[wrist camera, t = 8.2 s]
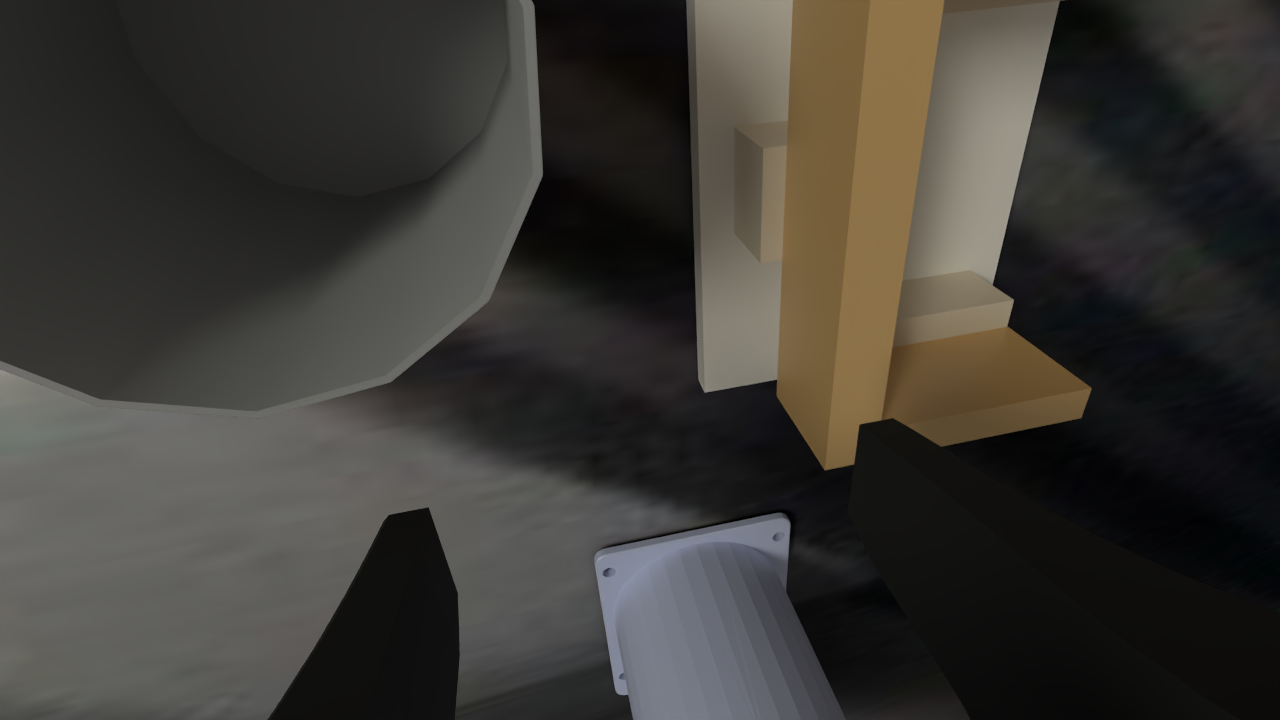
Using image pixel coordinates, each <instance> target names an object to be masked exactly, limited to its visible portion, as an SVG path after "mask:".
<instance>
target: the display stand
mask: <svg viewBox="0 0 1280 720" xmlns="http://www.w3.org/2000/svg"><path fill="white" fill-rule="evenodd" d="M1060 1H1063V0H944V6H943V13H942V19H941V26H940V33H939V39H938V46H937V53H936V59H935V66H934V73H933V79H932V86H931V93H930V99H929V106H928V113H927V119H926V126H925V133H924V139H923V146H922V153H921V159H920V166H919V173H918V179H917V186H916V193H915V199H914V206H913V213H912V220H911V226H910V233H909V240H908V246H907V253H906V260H905V266H904V273H903V280H902V286H901V293H900V300H899V306H898V313H897V320H896V326H895V333H894V340H893V346H892V347H898V346H903V345H909V344H914V343H920V342H925V341H931V340H936V339H942V338H947V337H953V336H958V335H964V334H969V333H975V332H980V331H986V330H991V329H997V328H1002V327H1007V325H1008V321H1009V317H1010V313H1011V310H1012V306H1013V302H1014V300H1013V299H1012V298H1010V297H1009V296H1007V295H1006V294H1004V293H1003V292H1001V291H1000V290H998V289H997V288H995V287H994V286H992V285H993V281H994V277H995V273H996V269H997V264H998V260H999V256H1000V252H1001V247H1002V243H1003V239H1004V235H1005V230H1006V226H1007V222H1008V218H1009V213H1010V209H1011V205H1012V201H1013V197H1014V192H1015V188H1016V184H1017V180H1018V175H1019V171H1020V167H1021V163H1022V158H1023V154H1024V150H1025V146H1026V142H1027V137H1028V133H1029V129H1030V125H1031V120H1032V116H1033V112H1034V108H1035V103H1036V99H1037V95H1038V91H1039V86H1040V82H1041V78H1042V74H1043V70H1044V65H1045V61H1046V57H1047V53H1048V48H1049V44H1050V40H1051V36H1052V31H1053V27H1054V23H1055V19H1056V15H1057V10H1058V6H1059V2H1060ZM686 6H687V37H688V69H689V101H690V132H691V164H692V196H693V227H694V259H695V291H696V322H697V354H698V380H699V382H700V384H701V386H702V388H703V390H704V392H711V391H716V390H722V389H728V388H733V387H739V386H744V385H750V384H755V383H761V382H766V381H772V380H777V373H778V349H779V325H780V300H781V276H782V252H783V227H784V203H785V179H786V154H787V130H788V106H789V81H790V57H791V33H792V8H793V0H686Z"/></svg>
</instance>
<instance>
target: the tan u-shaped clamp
mask: <svg viewBox="0 0 1280 720" xmlns="http://www.w3.org/2000/svg"><path fill="white" fill-rule="evenodd" d="M943 6H944V0H793V8H792V33H791V57H790V81H789V106H788V130H787V154H786V179H785V203H784V227H783V252H782V276H781V300H780V325H779V349H778V373H777V397H778V399H779V400H780V402H781V404H782V405H783V407H784V408H785V410H786V411H787V413H788V414H789V416H790V417H791V419H792V421H793V422H794V424H795V425H796V427H797V428H798V430H799V431H800V433H801V434H802V436H803V437H804V439H805V441H806V442H807V444H808V445H809V447H810V448H811V450H812V451H813V453H814V454H815V456H816V457H817V459H818V461H819V462H820V464H821V465H822V467H823V468H824V470H829V469H834V468H839V467H844V466H849V465H854V462H855V454H856V447H857V439H858V432H859V424H864V423H870V422H875V421H880V420H885V419H890V418H894V419H895V420H897V421H899V422H901V423H903V424H904V425H906V426H908V427H909V428H911V429H913V430H914V431H916V432H918V433H919V434H921V435H923V436H924V437H926V438H928V439H929V440H931V441H933V442H934V443H936V444H937V445H939V446H941V447H942V446H947V445H952V444H957V443H962V442H966V441H971V440H976V439H981V438H986V437H991V436H996V435H1001V434H1006V433H1011V432H1016V431H1020V430H1025V429H1030V428H1035V427H1040V426H1045V425H1050V424H1055V423H1060V422H1065V421H1070V420H1074V419H1079V418H1081V417H1082V414H1083V412H1084V409H1085V406H1086V403H1087V400H1088V398H1089V395H1090V392H1091V389H1092V388H1091V387H1089V386H1088V385H1087V384H1085V383H1084V382H1083V381H1081V380H1080V379H1079V378H1077V377H1076V376H1074V375H1073V374H1072V373H1070V372H1069V371H1068V370H1066V369H1065V368H1064V367H1062V366H1061V365H1059V364H1058V363H1057V362H1055V361H1054V360H1053V359H1051V358H1050V357H1049V356H1047V355H1046V354H1044V353H1043V352H1042V351H1040V350H1039V349H1038V348H1036V347H1035V346H1034V345H1032V344H1031V343H1029V342H1028V341H1027V340H1025V339H1024V338H1023V337H1021V336H1020V335H1019V334H1017V333H1016V332H1014V331H1013V330H1012V329H1010V328H1009V327H1002V328H997V329H991V330H986V331H980V332H975V333H969V334H964V335H958V336H953V337H947V338H942V339H936V340H931V341H925V342H920V343H914V344H909V345H903V346H898V347H892V346H893V340H894V333H895V326H896V320H897V313H898V306H899V300H900V293H901V286H902V280H903V273H904V266H905V260H906V253H907V246H908V240H909V233H910V226H911V220H912V213H913V206H914V199H915V193H916V186H917V179H918V173H919V166H920V159H921V153H922V146H923V139H924V133H925V126H926V119H927V113H928V106H929V99H930V93H931V86H932V79H933V73H934V66H935V59H936V53H937V46H938V39H939V33H940V26H941V19H942V13H943Z"/></svg>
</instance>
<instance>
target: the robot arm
mask: <svg viewBox="0 0 1280 720" xmlns="http://www.w3.org/2000/svg"><path fill="white" fill-rule="evenodd" d="M848 512H849V514H850V517H851V519H852V521H853V523H854V525H855V527H856V530H857V532H858V534H859V536H860V538H861V540H862V542H863V544H864V546H865V548H866V550H867V552H868V554H869V557H870V559H871V561H872V563H873V564H874V566H875V568H876V569H877V571H878V572H879V574H880V576H881V577H882V579H883V580H884V582H885V584H886V585H887V587H888V588H889V590H890V591H891V593H892V594H893V596H894V598H895V599H896V601H897V602H898V604H899V605H900V607H901V609H902V610H903V612H904V613H905V615H906V616H907V618H908V619H909V621H910V622H911V624H912V625H913V627H914V629H915V630H916V632H917V633H918V635H919V636H920V638H921V639H922V641H923V642H924V644H925V645H926V647H927V649H928V650H929V652H930V653H931V655H932V656H933V658H934V659H935V661H936V662H937V664H938V665H939V667H940V669H941V670H942V672H943V673H944V675H945V676H946V678H947V679H948V681H949V683H950V684H951V686H952V688H953V689H954V691H955V693H956V694H957V696H958V698H959V699H960V701H961V703H962V704H963V706H964V708H965V710H966V711H967V713H968V715H969V717H970V719H971V720H1280V613H1278V612H1276V611H1273V610H1270V609H1267V608H1265V607H1262V606H1259V605H1257V604H1254V603H1252V602H1249V601H1246V600H1244V599H1241V598H1239V597H1236V596H1234V595H1231V594H1229V593H1226V592H1224V591H1221V590H1219V589H1216V588H1214V587H1211V586H1208V585H1206V584H1203V583H1201V582H1198V581H1196V580H1194V579H1191V578H1189V577H1187V576H1184V575H1182V574H1180V573H1177V572H1175V571H1172V570H1170V569H1168V568H1166V567H1163V566H1161V565H1159V564H1157V563H1155V562H1152V561H1150V560H1148V559H1146V558H1144V557H1142V556H1139V555H1137V554H1135V553H1133V552H1131V551H1129V550H1126V549H1124V548H1122V547H1120V546H1118V545H1116V544H1113V543H1111V542H1109V541H1107V540H1105V539H1103V538H1101V537H1099V536H1097V535H1095V534H1093V533H1091V532H1089V531H1087V530H1085V529H1083V528H1082V527H1080V526H1078V525H1076V524H1074V523H1072V522H1070V521H1068V520H1066V519H1065V518H1063V517H1061V516H1059V515H1057V514H1055V513H1053V512H1051V511H1049V510H1048V509H1046V508H1044V507H1042V506H1040V505H1039V504H1037V503H1035V502H1033V501H1031V500H1030V499H1028V498H1026V497H1024V496H1022V495H1021V494H1019V493H1017V492H1016V491H1014V490H1012V489H1010V488H1009V487H1007V486H1005V485H1003V484H1002V483H1000V482H998V481H997V480H995V479H993V478H992V477H990V476H988V475H987V474H985V473H983V472H982V471H980V470H978V469H977V468H975V467H973V466H972V465H970V464H968V463H967V462H965V461H963V460H962V459H960V458H959V457H957V456H955V455H954V454H952V453H950V452H949V451H947V450H946V449H944V448H942V447H941V446H939V445H937V444H936V443H934V442H933V441H931V440H929V439H928V438H926V437H924V436H923V435H921V434H919V433H918V432H916V431H914V430H913V429H911V428H909V427H908V426H906V425H904V424H903V423H901V422H899V421H897V420H895V419H894V418H890V419H885V420H880V421H875V422H870V423H864V424H859V432H858V439H857V447H856V454H855V462H854V469H853V477H852V484H851V492H850V499H849V507H848ZM790 526H791V524H790V521H789V519H788V517H787V516H786V515H785V514H783V513H774V514H769V515H764V516H759V517H755V518H750V519H745V520H740V521H735V522H730V523H726V524H721V525H716V526H711V527H706V528H701V529H697V530H692V531H687V532H682V533H677V534H672V535H668V536H663V537H658V538H653V539H648V540H643V541H639V542H634V543H629V544H624V545H619V546H614V547H610V548H605V549H602V550H600V551H599V552H597V553H596V555H595V556H594V563H595V569H596V575H597V581H598V587H599V593H600V599H601V605H602V612H603V618H604V624H605V630H606V636H607V642H608V648H609V654H610V661H611V667H612V673H613V679H614V685H615V691H616V692H617V693H618V694H620V695H629V700H630V705H631V710H632V715H633V720H846V719H845V717H844V714H843V712H842V710H841V708H840V706H839V704H838V702H837V700H836V697H835V695H834V693H833V691H832V689H831V687H830V685H829V682H828V680H827V678H826V676H825V674H824V672H823V670H822V668H821V665H820V663H819V661H818V659H817V657H816V655H815V653H814V650H813V648H812V646H811V644H810V642H809V640H808V638H807V636H806V633H805V631H804V629H803V627H802V625H801V623H800V621H799V618H798V616H797V614H796V612H795V610H794V608H793V606H792V604H791V601H790V599H789V597H788V595H787V593H786V584H787V570H788V555H789V541H790ZM778 532H779V533H778ZM776 533H777V534H776ZM608 568H610V569H608ZM459 656H460V653H459V617H458V593H457V590H456V587H455V584H454V581H453V578H452V575H451V572H450V569H449V566H448V563H447V560H446V557H445V554H444V551H443V548H442V546H441V543H440V540H439V537H438V534H437V531H436V528H435V525H434V522H433V519H432V516H431V513H430V510H429V507H428V508H423V509H418V510H413V511H407V512H402V513H397V514H392V515H388V517H387V518H386V519H385V520H384V522H383V524H382V526H381V528H380V530H379V532H378V534H377V535H376V537H375V539H374V541H373V543H372V545H371V547H370V549H369V551H368V553H367V555H366V557H365V559H364V561H363V563H362V565H361V567H360V568H359V570H358V572H357V574H356V576H355V578H354V580H353V581H352V583H351V585H350V587H349V589H348V591H347V592H346V594H345V596H344V598H343V599H342V601H341V603H340V605H339V606H338V608H337V610H336V612H335V613H334V615H333V617H332V618H331V620H330V622H329V624H328V625H327V627H326V629H325V631H324V632H323V634H322V636H321V638H320V639H319V641H318V642H317V644H316V646H315V647H314V649H313V651H312V652H311V654H310V655H309V657H308V659H307V660H306V662H305V663H304V665H303V666H302V668H301V669H300V671H299V673H298V674H297V676H296V677H295V679H294V680H293V682H292V683H291V685H290V687H289V688H288V690H287V691H286V693H285V694H284V696H283V697H282V699H281V701H280V702H279V704H278V705H277V707H276V708H275V710H274V711H273V712H272V714H271V715H270V717H269V718H268V720H454V719H455V707H456V695H457V682H458V670H459Z"/></svg>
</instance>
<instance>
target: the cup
mask: <svg viewBox="0 0 1280 720" xmlns="http://www.w3.org/2000/svg"><path fill="white" fill-rule="evenodd" d="M542 176H543V165H542V146H541V126H540V107H539V87H538V68H537V48H536V29H535V10H534V4H533V2H532V0H0V369H1V370H3V371H6V372H9V373H11V374H14V375H17V376H19V377H22V378H24V379H27V380H30V381H32V382H35V383H37V384H40V385H43V386H45V387H48V388H51V389H53V390H56V391H58V392H61V393H64V394H66V395H69V396H72V397H74V398H77V399H79V400H82V401H85V402H87V403H90V404H92V405H95V406H98V407H106V408H120V409H133V410H147V411H160V412H174V413H188V414H201V415H215V416H228V417H242V418H255V419H259V418H263V417H267V416H270V415H274V414H277V413H281V412H285V411H288V410H292V409H296V408H299V407H303V406H306V405H310V404H314V403H317V402H321V401H324V400H328V399H332V398H335V397H339V396H342V395H346V394H350V393H353V392H357V391H361V390H364V389H368V388H371V387H375V386H379V385H382V384H386V383H389V382H392V381H393V380H394V379H395V378H396V377H398V376H399V375H400V374H401V373H402V372H404V371H405V370H406V369H407V368H408V367H410V366H411V365H412V364H413V363H415V362H416V361H417V360H418V359H419V358H421V357H422V356H423V355H424V354H425V353H427V352H428V351H429V350H430V349H431V348H433V347H434V346H435V345H436V344H438V343H439V342H440V341H441V340H442V339H444V338H445V337H446V336H447V335H448V334H450V333H451V332H452V331H453V330H454V329H456V328H457V327H458V326H459V325H461V324H462V323H463V322H464V321H465V320H467V319H468V318H469V317H470V316H471V315H473V314H474V313H475V312H476V311H477V310H479V309H480V308H481V307H482V306H484V305H485V304H486V303H487V302H488V301H489V300H490V298H491V295H492V293H493V291H494V288H495V286H496V284H497V281H498V279H499V277H500V274H501V272H502V270H503V267H504V265H505V263H506V260H507V258H508V256H509V253H510V251H511V249H512V246H513V244H514V242H515V239H516V237H517V235H518V232H519V230H520V228H521V225H522V223H523V221H524V218H525V216H526V214H527V211H528V209H529V207H530V204H531V202H532V200H533V197H534V195H535V193H536V190H537V188H538V186H539V183H540V181H541V179H542Z"/></svg>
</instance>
